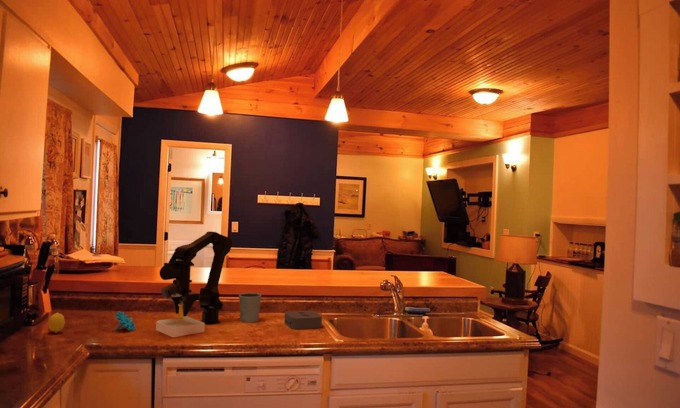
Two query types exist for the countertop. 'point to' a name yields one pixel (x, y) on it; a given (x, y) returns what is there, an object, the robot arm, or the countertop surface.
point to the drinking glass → (249, 307)
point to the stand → (179, 326)
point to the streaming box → (303, 319)
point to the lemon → (56, 322)
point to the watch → (180, 311)
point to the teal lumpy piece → (125, 321)
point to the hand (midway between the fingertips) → (181, 314)
